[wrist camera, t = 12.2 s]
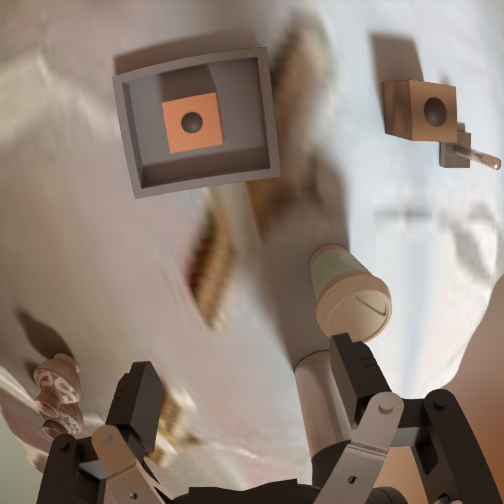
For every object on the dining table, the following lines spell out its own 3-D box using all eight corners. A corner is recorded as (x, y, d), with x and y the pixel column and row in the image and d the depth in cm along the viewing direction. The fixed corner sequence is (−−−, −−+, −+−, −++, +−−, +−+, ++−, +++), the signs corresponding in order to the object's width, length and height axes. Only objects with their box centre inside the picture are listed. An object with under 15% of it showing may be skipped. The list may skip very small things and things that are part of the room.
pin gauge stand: (464, 165, 34) (507, 184, 26) (439, 165, 34) (483, 185, 26) (465, 131, 32) (510, 144, 23) (440, 129, 32) (485, 141, 23)
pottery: (93, 358, 47) (72, 409, 36) (90, 417, 56) (77, 457, 46) (41, 334, 44) (13, 380, 33) (49, 400, 54) (33, 437, 43)
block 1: (218, 94, 29) (215, 92, 24) (224, 139, 31) (222, 144, 27) (172, 103, 29) (161, 102, 24) (179, 146, 31) (170, 153, 27)
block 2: (426, 134, 32) (457, 142, 26) (385, 133, 32) (412, 140, 26) (424, 86, 29) (456, 86, 23) (381, 82, 29) (409, 79, 23)
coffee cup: (364, 276, 41) (399, 331, 30) (309, 298, 42) (329, 360, 31) (351, 224, 37) (392, 272, 27) (290, 248, 38) (310, 305, 28)
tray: (277, 171, 34) (281, 176, 31) (142, 191, 34) (135, 199, 31) (263, 52, 28) (266, 47, 25) (122, 78, 28) (112, 76, 25)
